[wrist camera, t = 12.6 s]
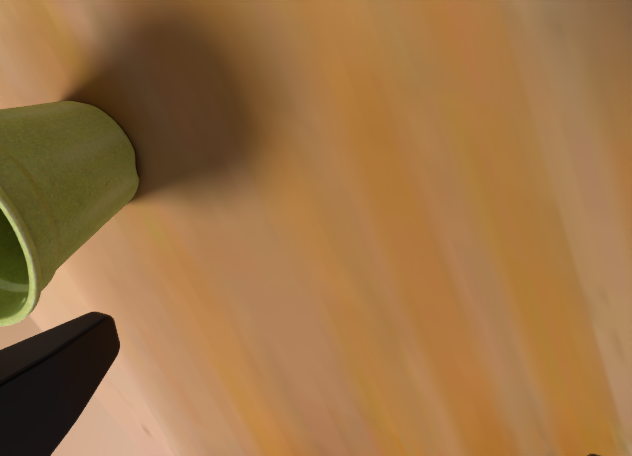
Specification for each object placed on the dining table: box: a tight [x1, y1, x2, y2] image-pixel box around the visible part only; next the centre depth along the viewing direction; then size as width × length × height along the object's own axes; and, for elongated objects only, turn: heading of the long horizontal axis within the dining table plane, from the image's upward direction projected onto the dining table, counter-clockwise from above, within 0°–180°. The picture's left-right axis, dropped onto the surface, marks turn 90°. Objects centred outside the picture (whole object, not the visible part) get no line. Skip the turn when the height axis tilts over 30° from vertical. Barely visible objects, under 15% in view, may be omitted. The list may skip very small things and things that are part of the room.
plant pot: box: [0, 101, 139, 326], centre depth 21 cm, size 9×9×9 cm
